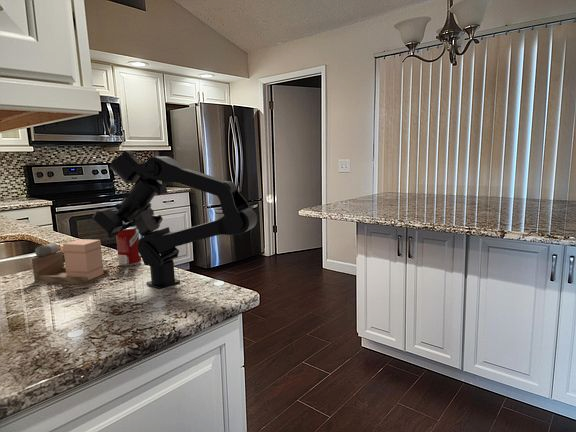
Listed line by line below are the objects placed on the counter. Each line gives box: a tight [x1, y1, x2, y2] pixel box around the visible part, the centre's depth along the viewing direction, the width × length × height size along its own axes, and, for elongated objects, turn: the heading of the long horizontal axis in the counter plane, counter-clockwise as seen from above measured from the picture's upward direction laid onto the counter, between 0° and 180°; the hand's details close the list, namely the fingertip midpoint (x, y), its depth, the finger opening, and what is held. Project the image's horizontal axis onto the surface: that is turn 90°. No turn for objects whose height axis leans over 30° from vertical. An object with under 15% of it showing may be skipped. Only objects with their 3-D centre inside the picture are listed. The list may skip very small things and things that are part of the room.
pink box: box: [62, 238, 104, 280], centre depth 106 cm, size 7×6×10 cm
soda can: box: [115, 225, 142, 267], centre depth 120 cm, size 7×7×12 cm
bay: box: [31, 242, 110, 286], centre depth 107 cm, size 18×9×10 cm, turn 77°
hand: (110, 237), depth 103 cm, fingers closed
